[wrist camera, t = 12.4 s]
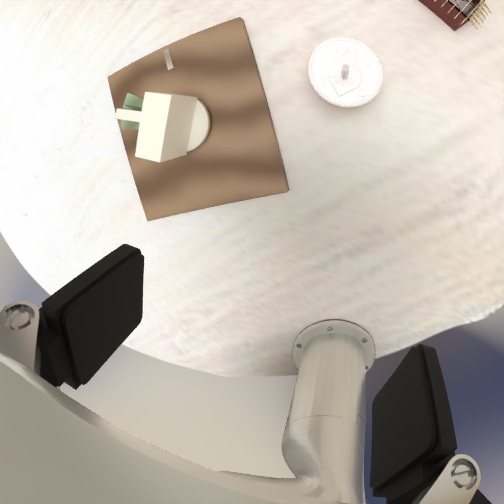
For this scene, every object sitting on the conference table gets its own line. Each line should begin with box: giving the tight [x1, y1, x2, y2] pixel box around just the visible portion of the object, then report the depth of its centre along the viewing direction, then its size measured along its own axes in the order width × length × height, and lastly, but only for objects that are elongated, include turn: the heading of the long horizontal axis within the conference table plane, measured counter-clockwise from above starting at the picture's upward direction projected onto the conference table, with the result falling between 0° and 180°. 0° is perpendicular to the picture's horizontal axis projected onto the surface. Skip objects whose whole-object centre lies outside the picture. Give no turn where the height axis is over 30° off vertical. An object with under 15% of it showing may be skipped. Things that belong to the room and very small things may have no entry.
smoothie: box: [308, 37, 383, 108], centre depth 23 cm, size 6×6×14 cm
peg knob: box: [115, 92, 210, 162], centre depth 31 cm, size 14×7×7 cm, turn 77°
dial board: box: [108, 17, 289, 221], centre depth 35 cm, size 22×20×1 cm
